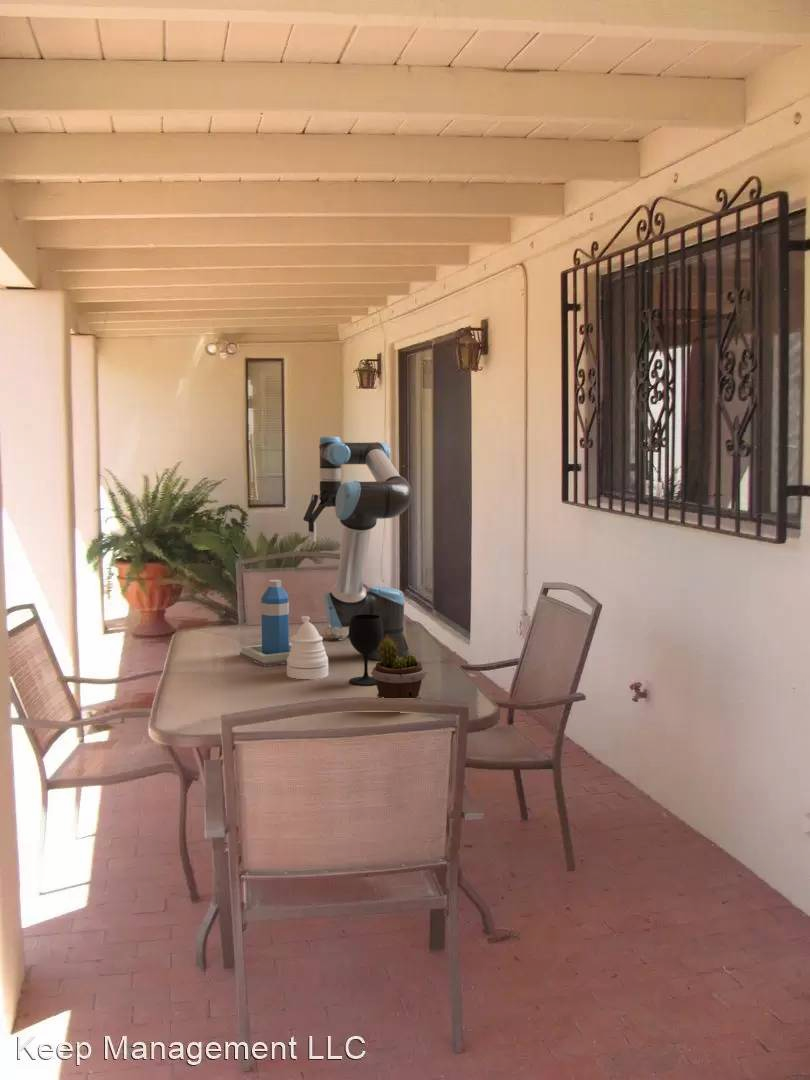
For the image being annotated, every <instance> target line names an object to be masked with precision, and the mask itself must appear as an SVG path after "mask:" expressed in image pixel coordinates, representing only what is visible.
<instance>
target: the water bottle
mask: <svg viewBox="0 0 810 1080" xmlns="http://www.w3.org/2000/svg"><path fill="white" fill-rule="evenodd" d="M289 600H290V596H289V595H288V593H287V592H286V591H285V589H284V588H283V586H282V580H280V579H269V580H268V587H267V589H266V590H265V592H264V593H263V595H262V596H261V600H260V601H261V645H262V653H263V654H266V655H268V654H276V653H284V652H289V643H290V609H289V608H290V606H289V605H290V601H289Z"/></svg>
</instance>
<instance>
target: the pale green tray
mask: <svg viewBox="0 0 810 1080" xmlns="http://www.w3.org/2000/svg"><path fill="white" fill-rule="evenodd" d="M292 644H293V642H289V652H290V648H291V647H292ZM289 652H284V653H276V654H268V655H266V654H263V653H262V644H257V645H248V646H242V647H241V651H239V656H241V655H242V656H241V657H243V656H244V657H243V658H245V657H246V659H247V658H249V659H248V660H250V659H251V660H250V661H252V660H253V662H254V661H256V662H258V663H260V664H259V665H261V664H262V665H261V666H263V665H265V666H266V667H270V666H269V665H274V666H276V665H275V664H282V663H287V658H288V656H289ZM256 662H255V663H256ZM258 663H257V664H258ZM282 665H283V664H282ZM265 666H264V667H265Z"/></svg>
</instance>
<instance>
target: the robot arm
mask: <svg viewBox="0 0 810 1080" xmlns="http://www.w3.org/2000/svg"><path fill="white" fill-rule="evenodd" d="M318 447H319V480H320V481H319V494H312V495H311V499H310V502H309V505H308V507H307V510H306V512H305V514H304V516H303V521H304V522H307V523H308V532H310V541H311V542H314V543H315V542H317V522H315V521H316V520H317V519H318V517H319V516H320V514H321V513H322V512H323V510H324V509H325V508H331V507H333V508H334V510H335V511H334V512H335V516H336V518H337V519H338V520H339V522H340V524H341V525H342V526H343V529H342V537H341V545H340V546H341V547H340V552H339V553H340V554H339V562H338V570H337V578H336V583H335V584H333V585H332V587H331V591H330V592H329V591H328V592H327V593H325V594H324V606H325V607H324V608H325V614H326V619H327V622H328V625H330V626H331V627H334V628H343V627H349V625H350V621H351V617H352V616H354V615H361V614H372V615H378V616H380V617H381V621H382V625H383V636H384V637H386V638H387V639H388V638H390V639H392V641H394V643H395V641H396V642H397V643H396V644H398V645H397V646H398V647H397V646H396V647H397V649H398V650H397V652H396V655H399V656H398V657H399V658H402V657H403V656H405V654H406V653H407V652H408V653H409V654H410V652H409V651H410V649H409V645H408V643H407V640H406V636H405V632H404V630H405V596H404V592H403V591H402V590H400V589H398V588H397V589H396V588H392V587H388V586H381V585H380V586H379V585H376V586H375V585H374V586H373V585H372V586H370V587H369V588H368V590H367V589H366V588H365V586H364V579H365V574H366V565H367V559H368V550H369V543H370V536H371V535H370V534H371V530H372V529H374V528H375V527H376V525H377V521H378V519H380V520H383V519H392V518H396V517H398V516H400V515H401V514H403V513H404V512H405V511H406V510H407V509H408V507H409V506H410V504H411V501H412V499H413V489H412V486H411V485H410V483H409V481H408V480H407V479H406V478H405V477H403V476H401V475H400V474H399V472H398V471H397V469H396V467H395V466H394V465H393V463H392V462H391V460H390V459H391V449H390V446H389V444H388V443H387V442H379V441H377V442H342V438H341V437H340V436H321V437H320V438H319V445H318ZM342 465H366V466H367V468H368V470H369V471H370V473H371V474H372V476H373V478H374V481H358V480H354V481H345V482H343V483H342V481H340V480H341V479H342V469H341V468H342ZM319 500H320V502H319V503H318V501H319ZM317 503H318V504H317ZM317 505H318V506H317ZM386 634H387V635H386ZM387 636H388V637H387ZM384 637H383V638H382V642H383V641H384V639H385V638H384ZM393 639H394V640H393ZM396 644H395V645H396ZM379 646H380V647H381V644H380V645H379ZM378 649H380V648H379V647H378V648H377V649H376V650H375V651H374V652H373V653H371V654H370V655H369V657H368V660H375V661H381V659H382V658H381V657H380V656H381V655H378V654H379V652H380V650H378ZM377 650H378V651H377ZM398 651H399V652H398ZM380 653H381V652H380ZM408 653H407V654H408ZM379 657H380V658H379ZM398 657H396V658H398ZM399 658H398V659H399Z"/></svg>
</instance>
